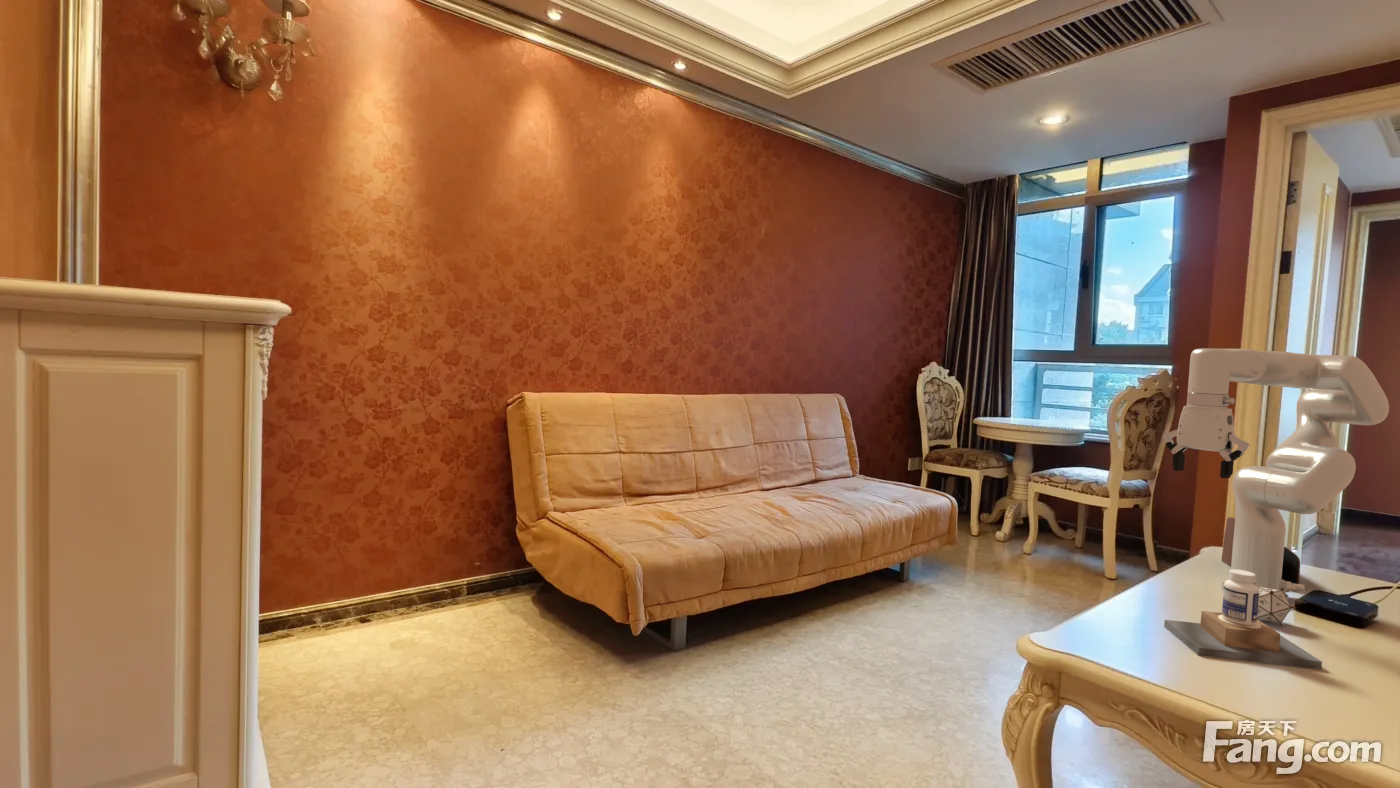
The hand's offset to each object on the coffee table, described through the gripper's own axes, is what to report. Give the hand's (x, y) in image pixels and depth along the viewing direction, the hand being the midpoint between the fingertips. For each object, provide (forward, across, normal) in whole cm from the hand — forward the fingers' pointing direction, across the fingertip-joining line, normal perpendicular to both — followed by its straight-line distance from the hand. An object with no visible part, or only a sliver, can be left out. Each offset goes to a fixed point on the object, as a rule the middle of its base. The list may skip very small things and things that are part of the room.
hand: (1201, 474), depth 154 cm
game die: (+31, -14, -1) cm, 34 cm away
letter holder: (+31, +4, -42) cm, 52 cm away
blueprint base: (+30, -18, +20) cm, 41 cm away
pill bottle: (+25, -18, +20) cm, 37 cm away
